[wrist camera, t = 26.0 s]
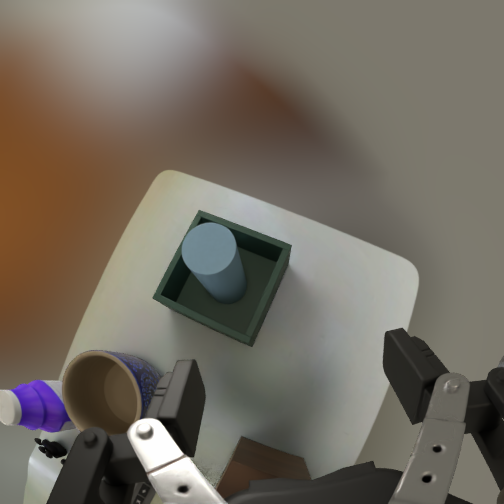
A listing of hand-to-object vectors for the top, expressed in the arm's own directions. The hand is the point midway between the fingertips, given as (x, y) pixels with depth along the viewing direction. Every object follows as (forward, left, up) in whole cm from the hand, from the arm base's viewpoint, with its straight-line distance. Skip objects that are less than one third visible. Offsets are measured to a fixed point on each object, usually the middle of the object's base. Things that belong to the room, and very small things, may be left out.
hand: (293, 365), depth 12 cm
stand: (+9, +14, -28) cm, 33 cm away
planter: (+20, -3, -29) cm, 35 cm away
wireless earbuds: (+38, +2, -29) cm, 47 cm away
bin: (+2, -12, -28) cm, 31 cm away
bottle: (+30, -4, -29) cm, 41 cm away
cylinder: (+2, -12, -27) cm, 30 cm away
